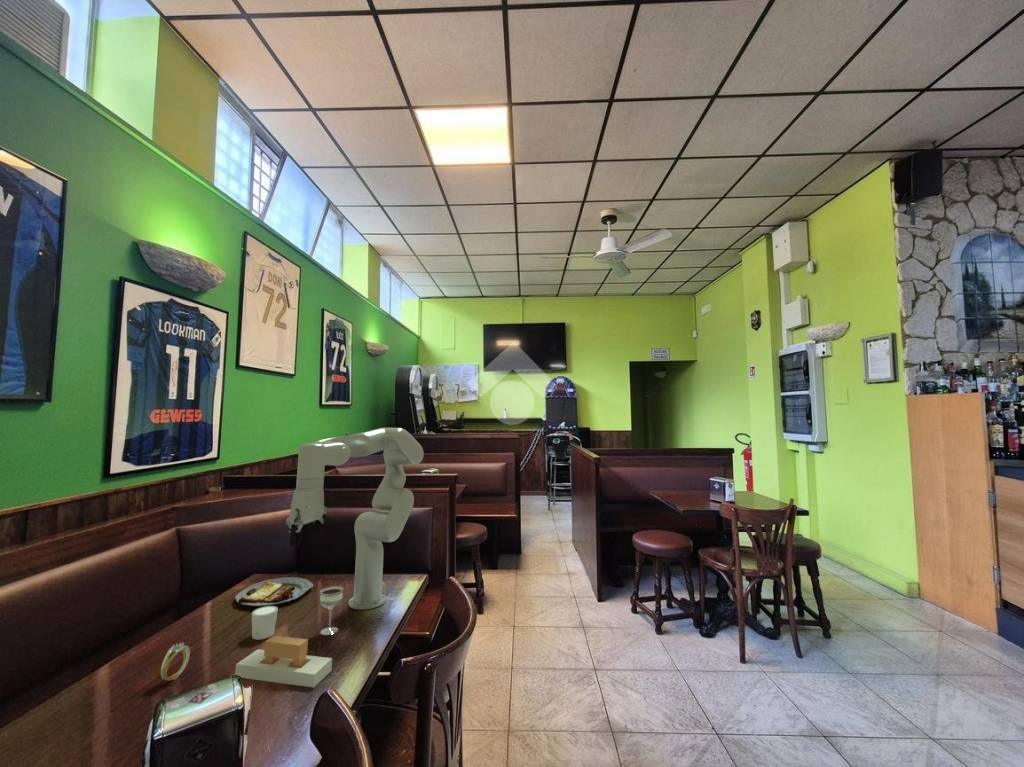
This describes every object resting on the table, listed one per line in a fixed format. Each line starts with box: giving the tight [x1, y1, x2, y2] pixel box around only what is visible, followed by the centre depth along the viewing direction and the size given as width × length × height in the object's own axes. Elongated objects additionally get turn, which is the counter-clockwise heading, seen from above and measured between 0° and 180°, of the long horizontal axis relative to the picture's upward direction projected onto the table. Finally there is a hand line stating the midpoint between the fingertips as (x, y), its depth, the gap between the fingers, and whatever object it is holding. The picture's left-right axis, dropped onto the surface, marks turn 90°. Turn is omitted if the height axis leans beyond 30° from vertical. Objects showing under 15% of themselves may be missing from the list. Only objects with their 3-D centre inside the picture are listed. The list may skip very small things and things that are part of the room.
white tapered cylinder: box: [251, 605, 279, 640], centre depth 122 cm, size 7×7×7 cm
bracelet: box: [160, 642, 191, 682], centre depth 101 cm, size 7×3×8 cm, turn 172°
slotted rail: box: [234, 649, 333, 688], centre depth 103 cm, size 7×22×3 cm, turn 80°
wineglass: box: [318, 585, 344, 636], centre depth 126 cm, size 7×7×12 cm
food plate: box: [233, 576, 314, 608], centre depth 150 cm, size 25×23×4 cm
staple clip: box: [263, 635, 309, 668], centre depth 103 cm, size 3×10×8 cm, turn 80°
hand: (306, 541), depth 122 cm, fingers open, 9 cm apart
